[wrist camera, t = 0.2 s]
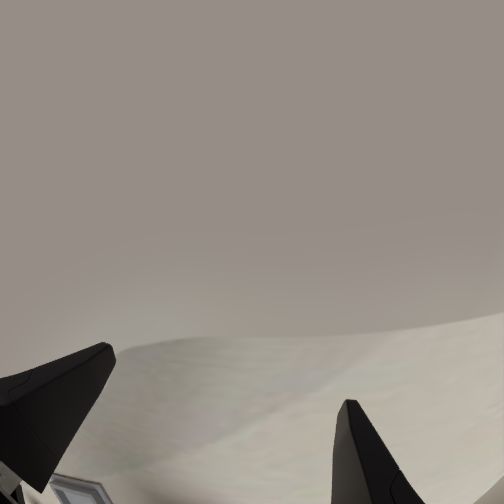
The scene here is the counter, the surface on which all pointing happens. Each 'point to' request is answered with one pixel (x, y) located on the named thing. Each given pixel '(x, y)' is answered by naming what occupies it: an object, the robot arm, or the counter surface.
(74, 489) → the holder
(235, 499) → the counter surface
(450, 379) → the counter surface
